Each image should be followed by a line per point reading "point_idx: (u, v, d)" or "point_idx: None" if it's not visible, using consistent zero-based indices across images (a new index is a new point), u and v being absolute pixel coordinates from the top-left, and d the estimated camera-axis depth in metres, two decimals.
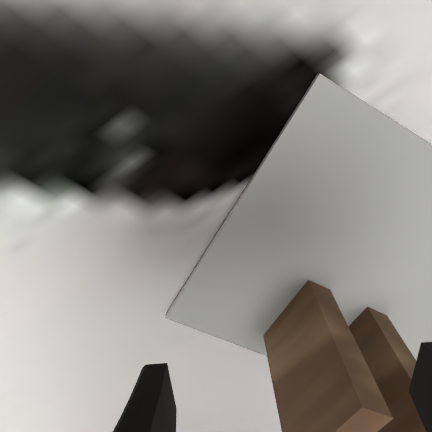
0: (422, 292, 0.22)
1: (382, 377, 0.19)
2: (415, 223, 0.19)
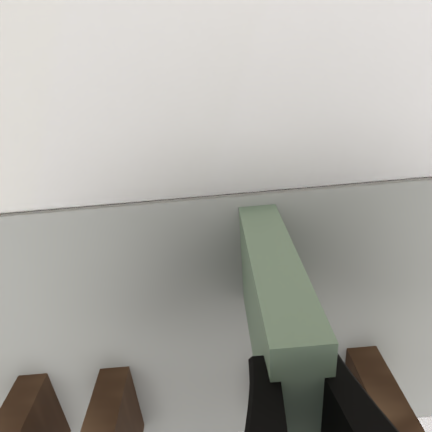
0: (134, 331, 0.18)
1: None
2: (40, 284, 0.17)
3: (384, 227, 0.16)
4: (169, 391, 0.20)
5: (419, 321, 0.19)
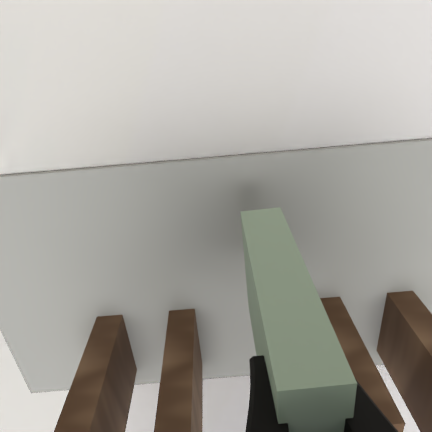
0: (202, 275, 0.21)
1: None
2: (126, 231, 0.19)
3: (428, 180, 0.19)
4: (227, 332, 0.23)
5: None
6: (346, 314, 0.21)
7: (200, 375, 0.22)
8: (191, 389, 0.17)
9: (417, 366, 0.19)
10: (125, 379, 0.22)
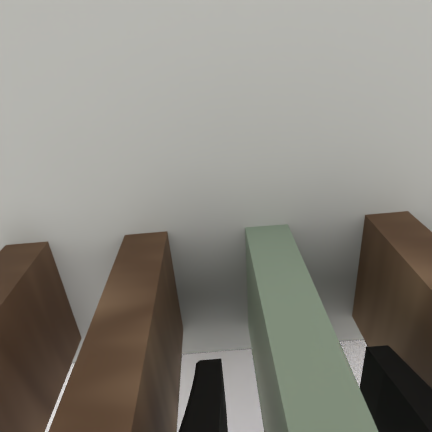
0: (178, 168, 0.12)
1: None
2: (36, 71, 0.11)
3: None
4: (222, 275, 0.14)
5: None
6: (427, 232, 0.12)
7: (176, 342, 0.13)
8: (144, 350, 0.08)
9: None
10: (50, 348, 0.13)
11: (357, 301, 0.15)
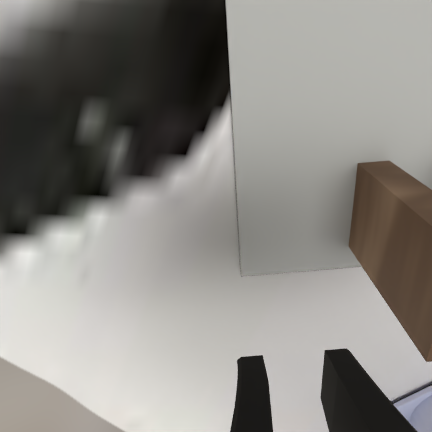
0: None
1: None
2: None
3: None
4: None
5: None
6: None
7: None
8: None
9: None
10: None
11: None
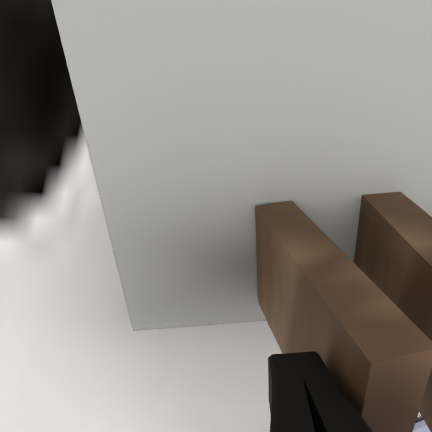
0: (429, 131, 0.14)
1: (406, 283, 0.12)
2: (337, 41, 0.12)
3: None
4: None
5: None
6: None
7: None
8: None
9: None
10: None
11: None
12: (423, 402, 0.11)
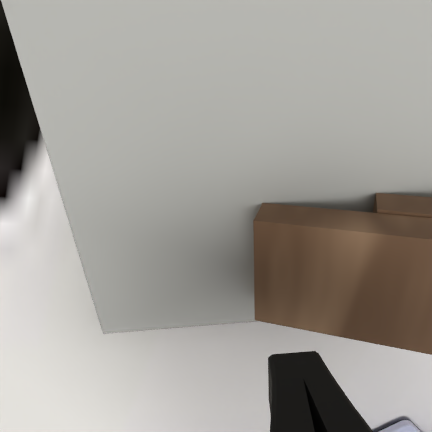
0: (388, 135, 0.14)
1: None
2: (290, 46, 0.12)
3: None
4: None
5: None
6: None
7: None
8: None
9: None
10: None
11: None
12: None
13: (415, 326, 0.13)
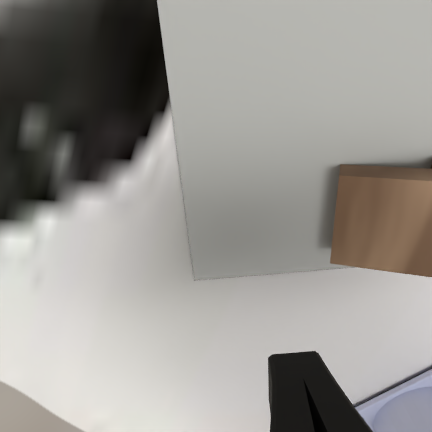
0: None
1: None
2: (376, 33, 0.15)
3: None
4: None
5: None
6: None
7: None
8: None
9: None
10: None
11: None
12: None
13: None
